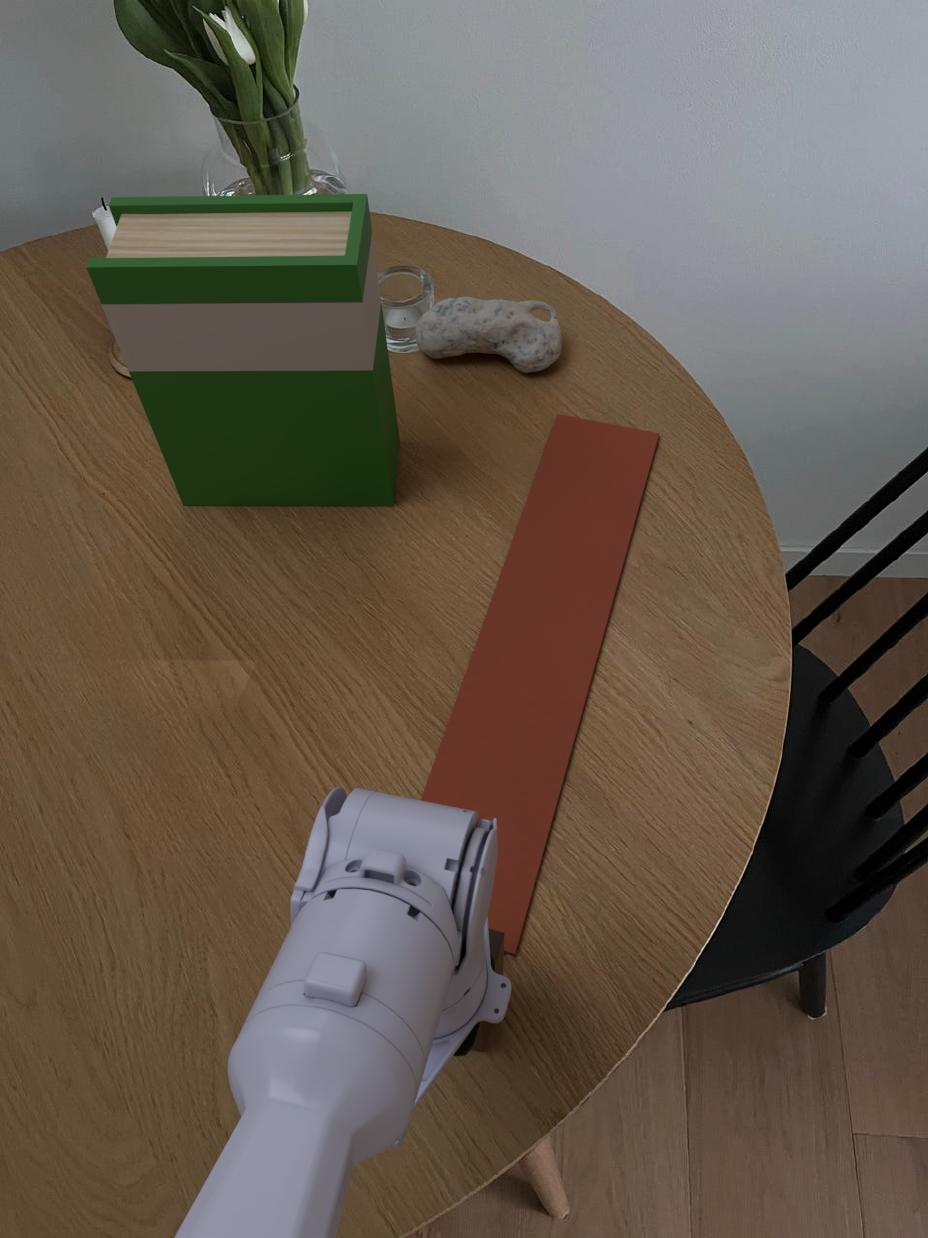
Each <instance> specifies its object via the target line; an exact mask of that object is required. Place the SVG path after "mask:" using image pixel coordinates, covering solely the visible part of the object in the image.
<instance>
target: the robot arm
mask: <svg viewBox="0 0 928 1238" xmlns="http://www.w3.org/2000/svg"><path fill="white" fill-rule="evenodd" d="M497 854H498V840H497V819H496V818H494V819H493V820H492V822H491V821H490V820H485V819H481V820H480V824H479V815H478V812H476V811H471V810H466V809H461V808H456V807H451V806H446V805H441V804H436V803H431V802H426V801H421V799H415V798H410V797H405V796H400V795H395V794H391V793H384V792H380V791H375V790H370V789H365V788H361V787H356V788H354V789H353V790H352V791H351V792H350V793H349V794H348V793H347V791H346V789H345V788H344V787H342V786H340V785H339V786H336V787H334V788H333V789H332V790H331V791H329V793H328V794H327V795H326V797H325V799H324V801H323V802H322V804H321V806H320V808H319V810H318V812H317V814H316V817H315V819H314V823H313V826H312V829H311V832H310V835H309V838H308V842H307V845H306V848H305V853H304V856H303V861H302V866H301V867H300V868H301V869H300V872H299V874H298V877H297V880H296V881H295V883H294V886H293V891H292V894H291V897H290V901H289V902H290V903H289V904H290V905H289V906H290V907H289V908H290V928H289V931H287V935H286V937H285V938H284V940H283V943H282V945H281V946H280V949H279V951H278V953H277V955H276V957H275V959H274V961H273V963H272V965H271V967H270V969H269V971H268V974H267V976H266V978H265V980H264V981H263V983H262V986H261V988H260V989H259V992H258V994H257V996H256V998H255V1000H254V1002H253V1005H252V1006H251V1009H250V1011H249V1012H248V1015H247V1017H246V1019H245V1021H244V1023H243V1025H242V1027H241V1028H240V1032H239V1034H238V1036H237V1038H236V1039H235V1042H234V1044H233V1046H232V1048H231V1050H230V1052H229V1054H228V1059H227V1078H228V1084H229V1088H230V1091H231V1094H232V1096H233V1099H234V1102H235V1105H236V1107H237V1111H238V1113H239V1116H240V1119H239V1121H238V1123H237V1124H236V1126H235V1128H234V1130H233V1131H232V1133H231V1135H230V1137H229V1138H228V1140H227V1142H226V1144H225V1146H224V1148H223V1150H222V1151H221V1153H220V1154H219V1156H218V1158H217V1160H216V1162H215V1164H214V1165H213V1167H212V1168H211V1171H210V1173H209V1175H208V1177H207V1179H205V1182H204V1184H203V1186H202V1187H201V1189H200V1190H199V1192H198V1194H197V1195H196V1198H195V1200H194V1202H193V1203H192V1205H191V1206H190V1208H189V1210H188V1212H187V1214H186V1216H185V1217H184V1220H183V1221H182V1223H181V1225H180V1226H179V1228H178V1229H177V1232H176V1234H175V1236H174V1237H173V1238H337V1234H338V1230H339V1226H340V1222H341V1217H342V1214H343V1209H344V1205H345V1201H346V1198H347V1197H346V1196H347V1192H348V1189H349V1184H350V1181H351V1176H352V1173H353V1169H354V1168H355V1167H356V1166H357V1165H359V1164H360V1163H361V1162H363V1161H365V1160H368V1159H370V1158H372V1157H375V1156H377V1155H378V1154H381V1153H383V1152H384V1151H387V1150H388V1149H389V1148H393V1149H396V1150H402V1149H403V1145H404V1143H405V1139H406V1135H407V1132H408V1127H409V1124H410V1122H411V1118H412V1115H413V1114H414V1113H415V1110H416V1109H417V1108H418V1105H420V1103H421V1102H422V1100H423V1099H424V1097H425V1096H426V1094H427V1093H428V1092H429V1090H430V1089H431V1088H432V1086H433V1084H434V1083H435V1082H436V1080H437V1079H438V1078H439V1076H440V1075H441V1073H442V1072H443V1070H444V1069H445V1068H446V1067H447V1065H448V1064H449V1062H450V1061H451V1059H452V1058H453V1057H465V1056H467V1055H468V1054H469V1053H470V1052H471V1051H472V1050H473V1049H472V1047H473V1045H474V1043H475V1040H476V1036H477V1033H478V1029H479V1026H480V1022H481V1021H487V1022H490V1023H491V1024H499V1023H500V1022H503V1020H504V1018H505V1017H506V1014H507V1011H508V1006H509V1003H510V1000H511V996H512V982H511V980H510V979H509V978H507V977H506V976H505V975H503V976H502V975H499V974H497V973H495V963H494V959H493V957H492V955H491V954H490V946H489V931H488V916H487V914H488V910H489V905H490V900H491V895H492V890H493V884H494V878H495V872H496V864H497Z"/></svg>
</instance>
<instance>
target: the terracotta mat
mask: <svg viewBox="0 0 928 1238" xmlns="http://www.w3.org/2000/svg"><path fill="white" fill-rule="evenodd" d="M659 439H660V433H659V432H656V431H655V432H654V431H650V430H644V429H639V428H634V427H629V426H623V425H617V424H613V423H608V422H602V421H597V420H593V419H588V418H587V419H586V418H581V417H576V416H572V415H571V416H570V415H566V414H559V413H557V414H556V415H555V418H554V422H553V424H552V427H551V430H550V433H549V435H548V438H547V441H546V444H545V447H544V449H543V452H542V455H541V458H540V461H539V464H538V467H537V470H536V473H535V475H534V478H533V480H532V484H531V486H530V489H529V493H528V495H527V498H526V501H525V504H524V506H523V509H522V512H521V515H520V517H519V520H518V524H517V525H516V529H515V531H514V535H513V538H512V540H511V543H510V546H509V550H508V551H507V554H506V557H505V560H504V563H503V565H502V568H501V571H500V574H499V578H498V580H497V583H496V586H495V589H494V592H493V594H492V597H491V600H490V602H489V606H488V609H487V611H486V614H485V617H484V619H483V623H482V626H481V628H480V631H479V634H478V636H477V639H476V642H475V644H474V645H475V646H474V648H473V651H472V653H471V656H470V659H469V662H468V665H467V668H466V670H465V674H464V677H463V678H462V682H461V684H460V688H459V691H458V693H457V696H456V699H455V702H454V706H453V708H452V710H451V713H450V716H449V718H448V722H447V724H446V727H445V730H444V733H443V735H442V739H441V742H440V744H439V747H438V750H437V753H436V756H435V759H434V762H433V764H432V766H431V770H430V773H429V775H428V778H427V781H426V784H425V787H424V790H423V792H422V796H421V799H420V800H421V801H426V802H431V803H436V804H441V805H446V806H451V807H456V808H461V809H466V810H471V811H476V812H478V815H479V824H480V820H481V819H485V820H490V821H491V822H492V820H493V819H494V818H496V819H497V840H498V854H497V864H496V872H495V878H494V884H493V890H492V895H491V900H490V905H489V910H488V914H487V916H488V928H490V929H493V930H497V931H500V932H504V954H507V955H510V956H516V954H517V951H518V947H519V943H520V940H521V936H522V932H523V930H524V926H525V923H526V918H527V915H528V911H529V907H530V903H531V901H532V896H533V893H534V889H535V885H536V882H537V878H538V875H539V871H540V868H541V863H542V862H543V861H542V860H543V857H544V853H545V849H546V846H547V843H548V839H549V835H550V832H551V827H552V824H553V820H554V817H555V813H556V810H557V806H558V803H559V799H560V796H561V792H562V788H563V785H564V781H565V778H566V773H567V770H568V767H569V764H570V759H571V755H572V752H573V749H574V745H575V741H576V738H577V735H578V730H579V727H580V723H581V719H582V716H583V712H584V709H585V705H586V702H587V698H588V695H589V691H590V687H591V683H592V681H593V678H594V677H593V676H594V673H595V669H596V666H597V662H598V658H599V654H600V652H601V648H602V643H603V640H604V636H605V633H606V630H607V625H608V622H609V619H610V615H611V611H612V607H613V605H614V600H615V597H616V593H617V590H618V586H619V583H620V579H621V575H622V573H623V572H622V571H623V568H624V564H625V561H626V557H627V553H628V549H629V546H630V543H631V540H632V536H633V533H634V529H635V525H636V521H637V517H638V514H639V510H640V507H641V502H642V500H643V497H644V493H645V489H646V485H647V482H648V478H649V474H650V471H651V466H652V463H653V461H654V460H653V459H654V455H655V452H656V449H657V446H658V443H659Z"/></svg>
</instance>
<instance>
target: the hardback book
mask: <svg viewBox="0 0 928 1238" xmlns="http://www.w3.org/2000/svg"><path fill="white" fill-rule="evenodd" d="M108 208H109V210H110V214H111V216H112V218H113V221H114V224H115V227H116V228H115V231H114V233H113V237H112V239H111V242H110V245H109V247H108V251H107V253H106V257H89V258H88V261H87V264H86V267H85V268H86V270H87V273H88V275H89V277H90V280H91V283H92V285H93V287H94V290H95V292H96V295H97V297H98V300H99V302H100V305H101V307H102V310H103V313H104V314H105V317H106V319H107V322H108V324H109V326H110V329H111V331H112V334H113V336H114V339H115V341H116V344H117V346H118V349H119V351H120V354H121V356H122V358H123V361H124V365H125V366H126V369H127V371H128V374H129V376H130V379H131V380H132V383H133V386H134V387H135V391H136V393H137V395H138V398H139V400H140V404H141V405H142V408H143V410H144V412H145V415H146V417H147V420H148V422H149V425H150V427H151V431H152V432H153V434H154V435H153V436H154V438H155V440H156V442H157V444H158V447H159V450H160V452H161V454H162V457H163V459H164V462H165V464H166V467H167V470H168V471H169V475H170V476H171V479H172V481H173V485H174V486H175V489H176V491H177V494H178V496H179V499H180V502H181V503H182V506H184V507H186V506H188V507H189V506H190V507H193V506H194V507H195V506H196V507H198V506H200V507H394V503H395V494H396V483H397V473H398V463H399V461H398V460H399V452H400V444H401V443H400V441H401V440H400V431H399V424H398V416H397V409H396V408H397V407H396V402H395V394H394V393H395V392H394V385H393V379H392V371H391V364H390V357H389V356H390V355H389V349H388V341H387V333H386V326H385V318H384V310H383V304H382V295H381V288H380V287H381V286H380V280H379V272H378V265H377V258H376V251H375V241H374V235H373V227H372V220H371V212H370V204H369V198H368V193H334V194H333V193H332V194H331V193H330V194H328V193H327V194H322V193H321V194H263V195H262V194H260V195H258V194H257V195H255V194H253V195H251V194H249V195H183V196H181V195H180V196H176V195H175V196H173V195H172V196H112V197H110V201H109V204H108Z"/></svg>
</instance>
